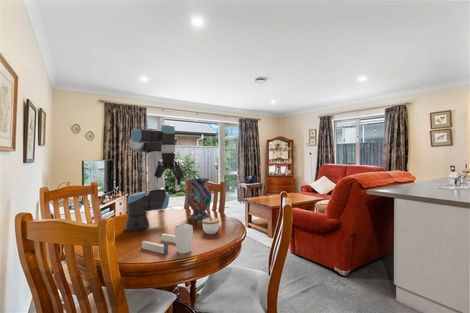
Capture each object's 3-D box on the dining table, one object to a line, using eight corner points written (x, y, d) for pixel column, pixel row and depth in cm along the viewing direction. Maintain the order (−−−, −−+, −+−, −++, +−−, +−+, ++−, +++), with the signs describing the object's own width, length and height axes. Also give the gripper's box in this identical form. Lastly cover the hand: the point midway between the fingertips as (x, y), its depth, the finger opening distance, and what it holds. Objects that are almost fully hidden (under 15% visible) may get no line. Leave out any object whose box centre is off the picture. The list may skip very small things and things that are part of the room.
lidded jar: (217, 235, 142) (216, 220, 142) (199, 235, 144) (199, 219, 144) (221, 230, 152) (221, 215, 152) (205, 229, 154) (205, 215, 154)
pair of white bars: (141, 248, 123) (141, 237, 123) (164, 239, 137) (163, 229, 137) (165, 254, 115) (165, 242, 115) (187, 244, 129) (187, 233, 129)
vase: (184, 220, 180) (183, 180, 180) (192, 214, 198) (191, 178, 198) (207, 220, 177) (207, 180, 177) (214, 214, 195) (213, 177, 195)
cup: (176, 248, 123) (176, 224, 124) (194, 247, 124) (193, 223, 124) (173, 255, 114) (172, 230, 115) (192, 254, 115) (191, 229, 115)
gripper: (147, 152, 139) (147, 189, 139) (180, 152, 127) (180, 192, 127) (157, 152, 145) (157, 187, 146) (189, 152, 134) (190, 190, 134)
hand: (168, 189), depth 137 cm, fingers open, 13 cm apart
